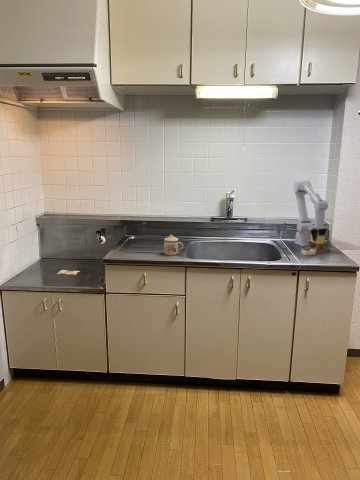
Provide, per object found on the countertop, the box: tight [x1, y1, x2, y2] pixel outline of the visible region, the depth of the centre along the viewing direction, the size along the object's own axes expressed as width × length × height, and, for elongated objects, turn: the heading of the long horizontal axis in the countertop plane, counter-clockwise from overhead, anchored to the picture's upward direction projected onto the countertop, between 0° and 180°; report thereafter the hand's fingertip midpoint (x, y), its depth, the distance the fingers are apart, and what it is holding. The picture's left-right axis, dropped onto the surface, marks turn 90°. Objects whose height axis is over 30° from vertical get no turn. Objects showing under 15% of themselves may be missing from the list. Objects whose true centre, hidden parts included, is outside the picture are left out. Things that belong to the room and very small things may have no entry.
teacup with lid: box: [163, 234, 184, 256], centre depth 227 cm, size 12×9×12 cm
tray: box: [303, 243, 330, 254], centre depth 239 cm, size 13×9×2 cm
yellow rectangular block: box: [309, 232, 326, 245], centre depth 238 cm, size 9×4×5 cm, turn 21°
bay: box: [300, 249, 317, 256], centre depth 231 cm, size 4×8×2 cm, turn 111°
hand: (317, 240), depth 238 cm, fingers closed on yellow rectangular block, 4 cm apart
